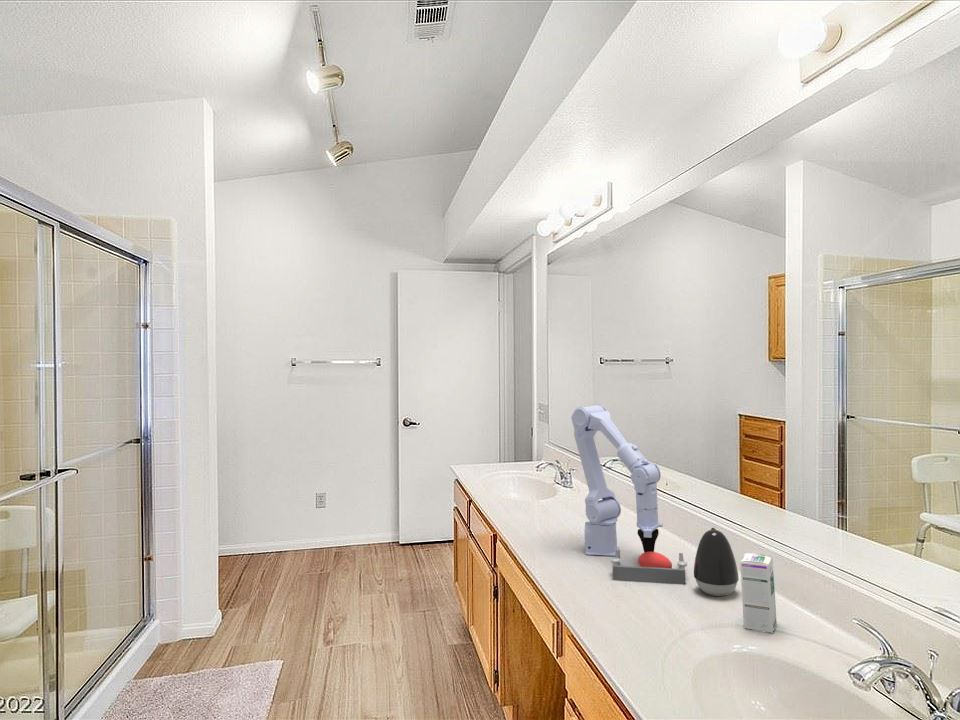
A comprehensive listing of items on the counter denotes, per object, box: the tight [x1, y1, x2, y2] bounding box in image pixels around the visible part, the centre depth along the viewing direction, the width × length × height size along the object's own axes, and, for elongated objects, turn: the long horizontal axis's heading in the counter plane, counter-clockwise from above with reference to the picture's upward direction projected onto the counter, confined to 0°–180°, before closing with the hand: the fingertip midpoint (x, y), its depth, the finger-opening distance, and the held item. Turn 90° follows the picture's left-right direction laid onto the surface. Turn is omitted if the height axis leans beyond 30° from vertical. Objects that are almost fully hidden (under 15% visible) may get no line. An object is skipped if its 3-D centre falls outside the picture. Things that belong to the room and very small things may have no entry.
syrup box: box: [739, 552, 778, 634], centre depth 128 cm, size 6×6×14 cm
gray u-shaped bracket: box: [610, 549, 688, 585], centre depth 162 cm, size 19×14×4 cm
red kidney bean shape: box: [637, 551, 673, 568], centre depth 164 cm, size 5×9×6 cm, turn 35°
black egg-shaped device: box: [693, 527, 739, 597], centre depth 147 cm, size 10×10×15 cm
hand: (649, 556), depth 168 cm, fingers closed
